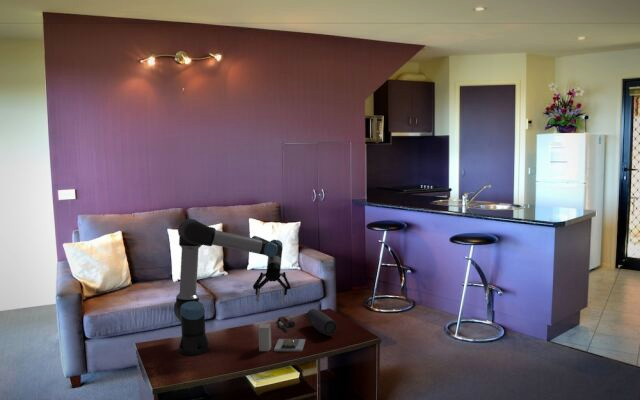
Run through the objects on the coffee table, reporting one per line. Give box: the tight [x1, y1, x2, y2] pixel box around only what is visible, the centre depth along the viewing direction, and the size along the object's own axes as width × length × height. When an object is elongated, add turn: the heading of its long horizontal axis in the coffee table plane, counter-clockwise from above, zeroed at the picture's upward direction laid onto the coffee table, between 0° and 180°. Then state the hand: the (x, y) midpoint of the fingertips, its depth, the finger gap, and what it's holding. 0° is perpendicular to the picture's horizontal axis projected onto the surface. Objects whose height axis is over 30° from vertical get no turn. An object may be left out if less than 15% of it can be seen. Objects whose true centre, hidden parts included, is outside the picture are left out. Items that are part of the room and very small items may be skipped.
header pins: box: [281, 340, 296, 348], centre depth 262 cm, size 7×2×4 cm, turn 85°
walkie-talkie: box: [277, 315, 296, 332], centre depth 297 cm, size 9×4×20 cm
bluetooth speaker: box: [305, 308, 338, 336], centre depth 287 cm, size 23×9×10 cm, turn 25°
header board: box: [273, 338, 306, 352], centre depth 267 cm, size 14×14×1 cm
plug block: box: [258, 323, 272, 352], centre depth 264 cm, size 5×6×12 cm
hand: (270, 300), depth 276 cm, fingers open, 13 cm apart
